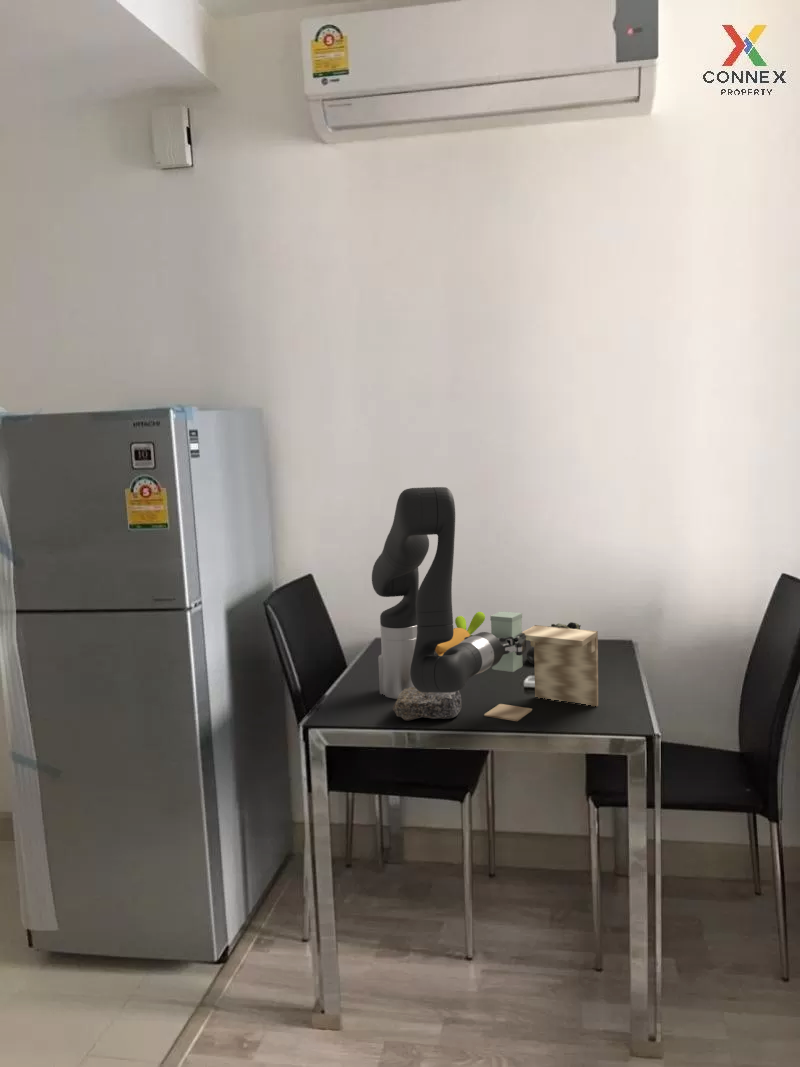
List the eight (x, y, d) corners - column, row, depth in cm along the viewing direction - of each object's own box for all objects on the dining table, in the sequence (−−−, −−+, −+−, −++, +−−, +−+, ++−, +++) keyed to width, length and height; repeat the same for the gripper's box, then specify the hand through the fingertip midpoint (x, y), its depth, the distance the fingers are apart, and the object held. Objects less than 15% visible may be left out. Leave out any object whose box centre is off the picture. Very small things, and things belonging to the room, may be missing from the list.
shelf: (519, 708, 205) (518, 634, 202) (536, 696, 213) (535, 625, 210) (583, 718, 197) (582, 640, 194) (598, 705, 205) (597, 631, 202)
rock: (465, 707, 208) (401, 707, 211) (463, 680, 207) (399, 680, 210) (457, 724, 195) (389, 724, 199) (455, 695, 195) (387, 695, 198)
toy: (426, 704, 236) (482, 661, 259) (449, 666, 228) (504, 626, 252) (390, 672, 240) (448, 633, 264) (411, 635, 232) (469, 597, 256)
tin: (491, 669, 199) (490, 615, 198) (501, 663, 204) (500, 611, 202) (513, 672, 197) (512, 617, 195) (523, 666, 201) (522, 613, 200)
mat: (484, 716, 201) (484, 714, 200) (499, 705, 207) (499, 703, 207) (517, 721, 196) (517, 719, 196) (532, 710, 203) (532, 708, 203)
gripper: (508, 639, 183) (541, 622, 197) (446, 633, 191) (482, 617, 205) (509, 675, 184) (542, 656, 198) (447, 667, 192) (483, 649, 206)
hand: (511, 636), depth 202 cm, fingers closed on tin, 5 cm apart
